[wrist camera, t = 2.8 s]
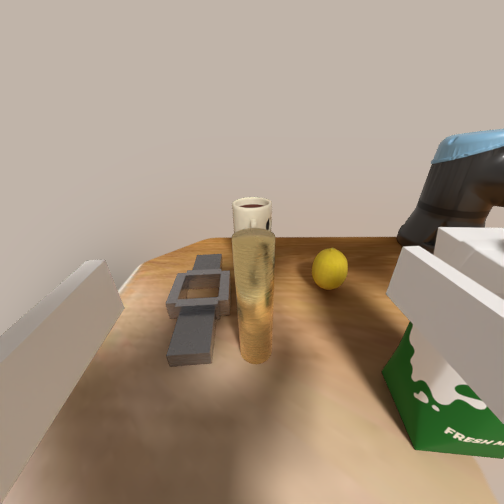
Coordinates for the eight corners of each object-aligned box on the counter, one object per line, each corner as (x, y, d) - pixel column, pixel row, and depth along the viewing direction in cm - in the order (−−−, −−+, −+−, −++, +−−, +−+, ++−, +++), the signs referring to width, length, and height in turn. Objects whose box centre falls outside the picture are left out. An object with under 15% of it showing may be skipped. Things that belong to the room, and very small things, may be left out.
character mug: (274, 278, 41) (276, 211, 35) (236, 280, 41) (231, 213, 35) (267, 249, 51) (268, 193, 44) (236, 251, 51) (232, 194, 44)
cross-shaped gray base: (231, 261, 47) (230, 249, 45) (228, 362, 27) (226, 345, 25) (188, 263, 46) (186, 251, 45) (152, 367, 26) (146, 351, 25)
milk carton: (409, 463, 19) (577, 260, 9) (369, 362, 26) (433, 196, 16) (525, 475, 18) (857, 267, 8) (448, 368, 26) (566, 196, 16)
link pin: (269, 335, 30) (272, 226, 22) (273, 362, 27) (278, 245, 19) (240, 337, 30) (232, 228, 22) (240, 365, 26) (231, 248, 19)
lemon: (302, 285, 39) (307, 246, 35) (324, 275, 42) (331, 237, 38) (327, 304, 35) (335, 261, 31) (349, 291, 38) (360, 250, 34)
